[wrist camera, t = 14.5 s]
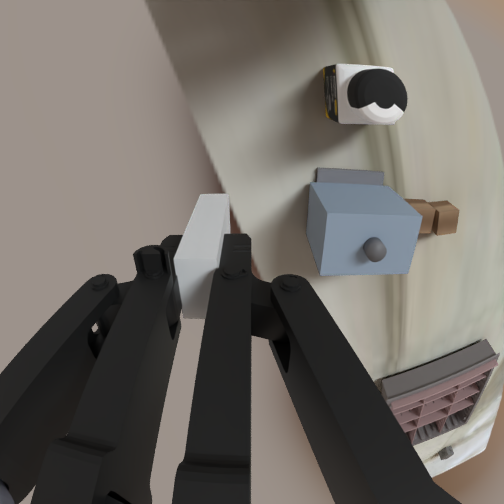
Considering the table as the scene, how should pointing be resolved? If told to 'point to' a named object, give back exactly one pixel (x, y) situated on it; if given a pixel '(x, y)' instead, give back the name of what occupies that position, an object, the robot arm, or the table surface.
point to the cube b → (444, 218)
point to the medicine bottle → (363, 94)
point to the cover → (360, 229)
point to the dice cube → (446, 453)
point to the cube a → (423, 213)
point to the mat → (349, 176)
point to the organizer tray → (440, 392)
